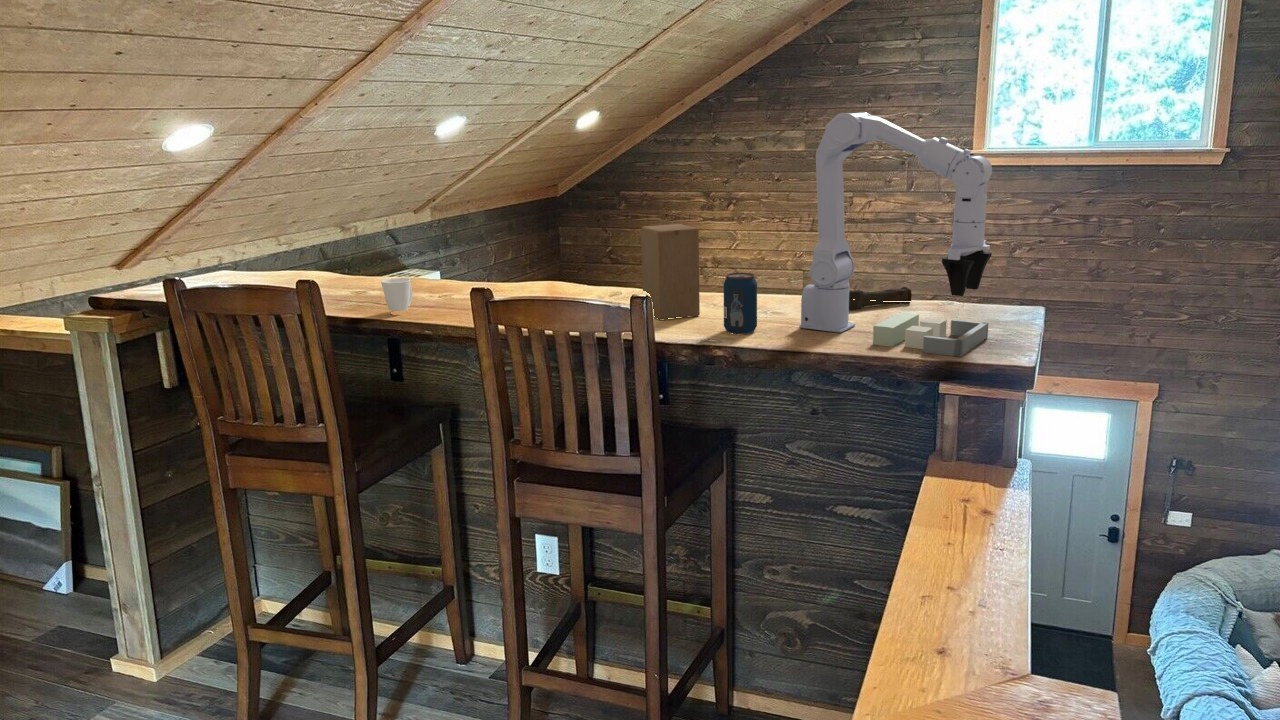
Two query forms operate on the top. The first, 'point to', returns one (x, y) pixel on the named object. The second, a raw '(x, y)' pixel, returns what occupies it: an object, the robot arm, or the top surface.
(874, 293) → the hand tool
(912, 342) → the block
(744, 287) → the soda can
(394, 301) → the cup
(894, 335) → the sage green beam
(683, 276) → the wooden block
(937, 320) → the block
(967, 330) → the grey frame
